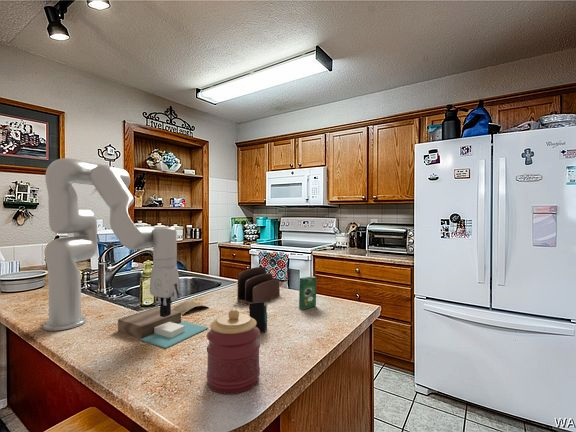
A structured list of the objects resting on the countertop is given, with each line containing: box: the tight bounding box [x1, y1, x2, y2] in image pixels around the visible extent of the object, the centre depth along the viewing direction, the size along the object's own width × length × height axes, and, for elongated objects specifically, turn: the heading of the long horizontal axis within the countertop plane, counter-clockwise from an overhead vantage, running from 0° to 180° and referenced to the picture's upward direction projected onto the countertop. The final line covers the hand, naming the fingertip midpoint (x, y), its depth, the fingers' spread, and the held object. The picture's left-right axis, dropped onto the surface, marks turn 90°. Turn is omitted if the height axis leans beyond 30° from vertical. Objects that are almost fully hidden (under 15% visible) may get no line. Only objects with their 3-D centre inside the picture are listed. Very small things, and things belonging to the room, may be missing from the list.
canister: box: [206, 308, 261, 395], centre depth 76 cm, size 13×13×18 cm
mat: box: [139, 320, 209, 350], centre depth 103 cm, size 12×18×1 cm, turn 151°
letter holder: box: [236, 266, 281, 305], centre depth 146 cm, size 10×20×14 cm, turn 145°
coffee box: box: [298, 276, 317, 310], centre depth 132 cm, size 8×3×13 cm, turn 129°
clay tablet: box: [171, 301, 210, 316], centre depth 129 cm, size 14×10×3 cm
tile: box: [154, 322, 185, 338], centre depth 104 cm, size 8×6×2 cm
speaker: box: [248, 301, 268, 334], centre depth 108 cm, size 8×6×10 cm
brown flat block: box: [117, 306, 182, 339], centre depth 110 cm, size 13×16×4 cm
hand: (165, 315), depth 106 cm, fingers closed
